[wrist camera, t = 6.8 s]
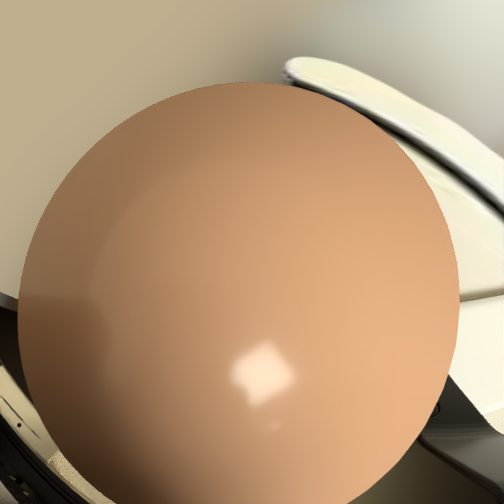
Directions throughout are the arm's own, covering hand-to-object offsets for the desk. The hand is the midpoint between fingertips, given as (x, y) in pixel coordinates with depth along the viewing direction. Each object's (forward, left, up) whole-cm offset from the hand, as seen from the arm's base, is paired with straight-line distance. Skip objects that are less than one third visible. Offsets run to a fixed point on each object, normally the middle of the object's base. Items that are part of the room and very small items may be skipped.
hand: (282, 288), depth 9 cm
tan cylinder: (-1, 0, -7) cm, 7 cm away
